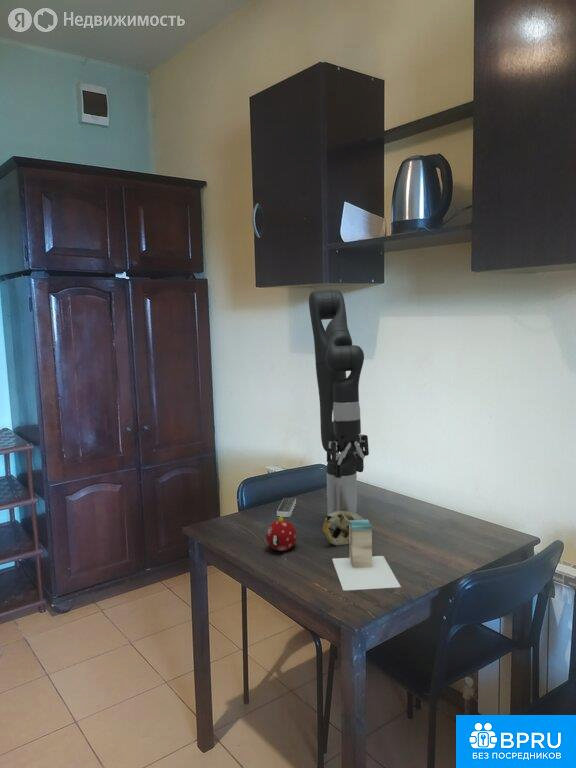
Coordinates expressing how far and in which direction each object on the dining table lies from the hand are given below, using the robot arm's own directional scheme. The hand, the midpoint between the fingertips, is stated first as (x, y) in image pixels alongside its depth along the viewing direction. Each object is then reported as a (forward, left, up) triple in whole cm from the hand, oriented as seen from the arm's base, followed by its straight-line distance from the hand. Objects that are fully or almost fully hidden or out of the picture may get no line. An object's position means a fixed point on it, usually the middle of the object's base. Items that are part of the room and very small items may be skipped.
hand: (348, 474), depth 161 cm
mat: (+18, +1, -21) cm, 28 cm away
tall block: (+13, +1, -21) cm, 24 cm away
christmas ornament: (0, -19, -21) cm, 29 cm away
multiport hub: (-33, -16, -22) cm, 43 cm away
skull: (-3, -1, -21) cm, 22 cm away
